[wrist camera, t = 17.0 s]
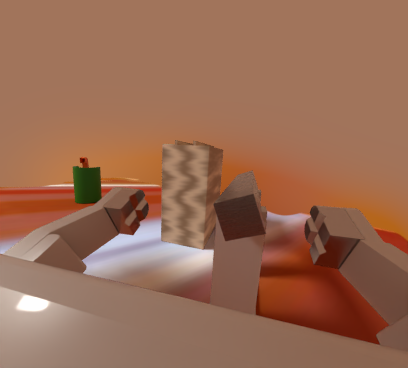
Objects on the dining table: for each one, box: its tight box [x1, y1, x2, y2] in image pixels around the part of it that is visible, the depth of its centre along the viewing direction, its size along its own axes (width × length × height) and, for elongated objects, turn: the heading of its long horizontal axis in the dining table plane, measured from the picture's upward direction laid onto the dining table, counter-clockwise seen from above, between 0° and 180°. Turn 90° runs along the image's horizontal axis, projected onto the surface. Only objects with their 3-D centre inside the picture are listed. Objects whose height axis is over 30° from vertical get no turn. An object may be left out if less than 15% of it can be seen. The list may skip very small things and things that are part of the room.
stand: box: [161, 140, 223, 249], centre depth 52 cm, size 12×20×27 cm, turn 164°
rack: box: [210, 190, 267, 315], centre depth 29 cm, size 7×16×18 cm, turn 164°
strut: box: [213, 171, 266, 241], centre depth 26 cm, size 4×26×4 cm, turn 164°
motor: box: [73, 157, 102, 203], centre depth 76 cm, size 10×9×20 cm
